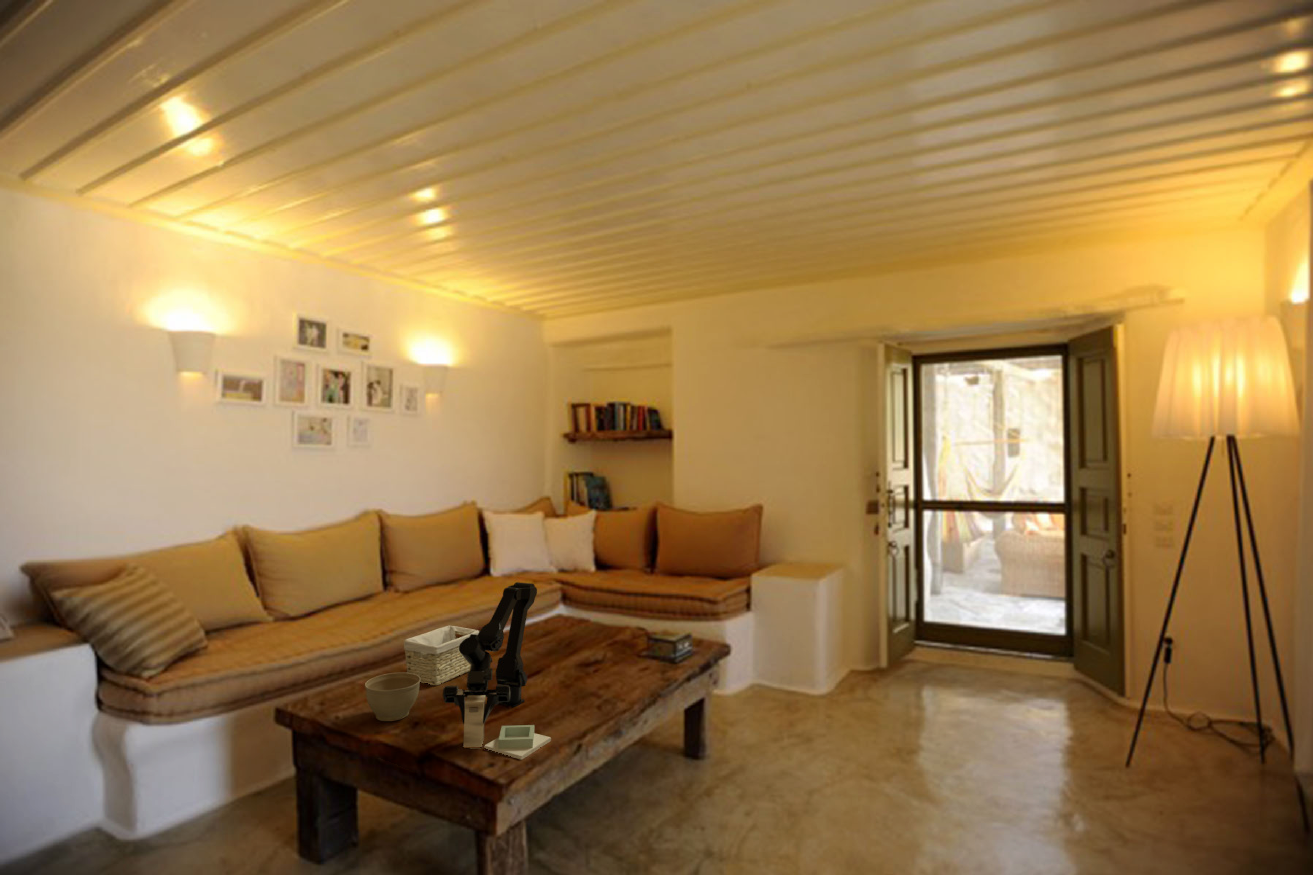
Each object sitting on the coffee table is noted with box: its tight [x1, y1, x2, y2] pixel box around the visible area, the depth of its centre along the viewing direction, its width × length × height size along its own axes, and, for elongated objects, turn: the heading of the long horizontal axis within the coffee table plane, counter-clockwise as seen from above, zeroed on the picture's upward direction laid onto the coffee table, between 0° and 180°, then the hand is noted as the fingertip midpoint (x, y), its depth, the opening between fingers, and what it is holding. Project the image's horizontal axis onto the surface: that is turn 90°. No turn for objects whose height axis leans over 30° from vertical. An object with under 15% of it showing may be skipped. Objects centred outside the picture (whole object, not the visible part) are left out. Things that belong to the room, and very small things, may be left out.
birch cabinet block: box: [462, 695, 487, 748], centre depth 192 cm, size 6×5×13 cm
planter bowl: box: [364, 672, 421, 722], centre depth 211 cm, size 16×16×11 cm
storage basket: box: [403, 625, 480, 686], centre depth 250 cm, size 24×16×15 cm
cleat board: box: [483, 724, 552, 761], centre depth 193 cm, size 14×14×4 cm
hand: (473, 722), depth 191 cm, fingers closed on birch cabinet block, 5 cm apart
